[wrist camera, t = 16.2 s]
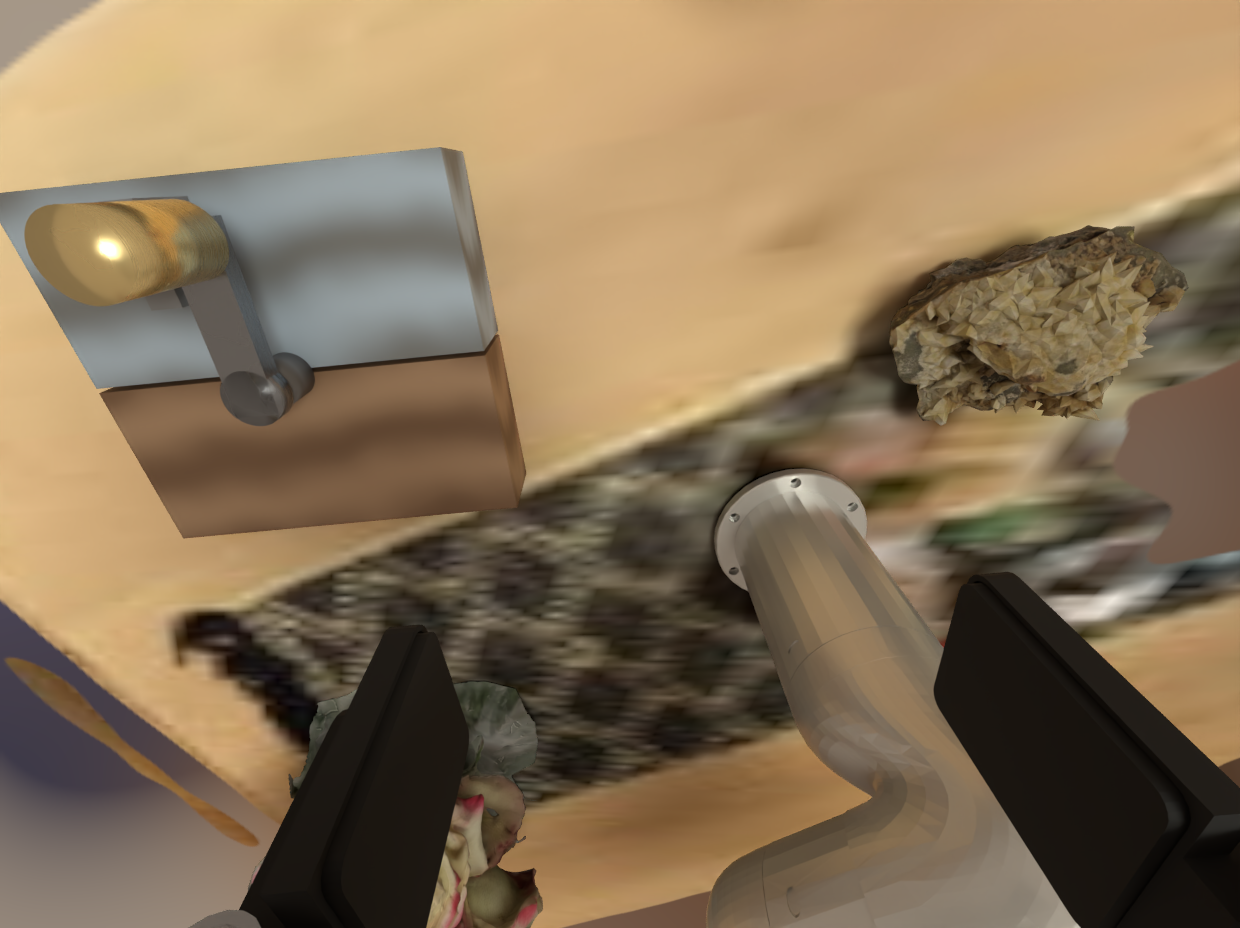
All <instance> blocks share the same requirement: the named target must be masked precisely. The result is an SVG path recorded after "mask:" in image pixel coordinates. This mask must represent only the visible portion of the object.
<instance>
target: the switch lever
mask: <svg viewBox="0 0 1240 928" xmlns="http://www.w3.org/2000/svg"><path fill="white" fill-rule="evenodd" d="M24 237H25V244H26V248H27V251H28V254H29V256H30V258H31V260H32V262H33V263H34V265H35V267H36V268H37V270H38V271H39V272H40V274H41V275H42V276H43V277H44V278H45V279H46V280H47V281H48V282H49V283H50V284H51V285H52V286H53V287H55V288H56V289H57V290H58V291H60V292H61V293H63V294H64V295H66V296H68V297H69V298H71V299H73V300H76V301H78V302H81V303H83V304H87V305H91V306H110V305H114V304H118V303H122V302H125V301H129V300H133V299H137V298H141V297H145V296H149V295H153V294H157V293H161V292H165V291H168V290H172V289H176V288H180V287H182V289H183V291H184V294H185V296H186V298H187V301H188V303H189V306H190V308H191V310H192V313H193V315H194V317H195V320H196V322H197V325H198V327H199V329H200V332H201V334H202V337H203V339H204V341H205V344H206V346H207V348H208V351H209V353H210V356H211V358H212V360H213V363H214V365H215V367H216V370H217V372H218V375H219V377H220V379H221V382H222V383H221V386H220V396H221V399H222V402H223V404H224V406H225V407H226V409H227V410H228V411H229V412H230V413H231V414H232V415H233V416H234V417H235V418H237V419H238V420H240V421H242V422H244V423H246V424H249V425H253V426H267V425H271V424H273V423H274V422H276V421H277V420H279V419H280V418H281V417H283V416H284V415H285V414H287V413H288V412H289V411H290V409H291V408H292V406H293V402H294V396H293V391H292V388H291V386H290V384H289V383H288V381H287V380H286V379H285V378H284V377H283V376H282V375H281V374H280V373H279V372H278V370H277V367H276V364H275V361H274V359H273V356H272V353H271V350H270V348H269V345H268V342H267V340H266V337H265V334H264V331H263V329H262V326H261V323H260V320H259V318H258V315H257V312H256V309H255V307H254V304H253V301H252V298H251V296H250V293H249V290H248V287H247V285H246V282H245V279H244V277H243V274H242V271H241V268H240V266H239V263H238V260H237V257H236V255H235V252H234V249H233V246H232V244H231V241H230V238H229V235H228V233H227V230H226V227H225V224H224V222H223V219H222V216H221V215H214V216H210V215H209V214H208V213H207V212H206V211H205V210H203V209H202V208H200V207H199V206H197V205H195V204H193V203H191V202H188V201H185V200H180V199H159V200H137V201H115V202H93V203H71V204H52V205H46V206H43V207H40V208H38V209H37V210H35V211H34V212H33V213H32V214H31V215H30V216H29V218H28V220H27V222H26V225H25V231H24Z"/></svg>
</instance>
